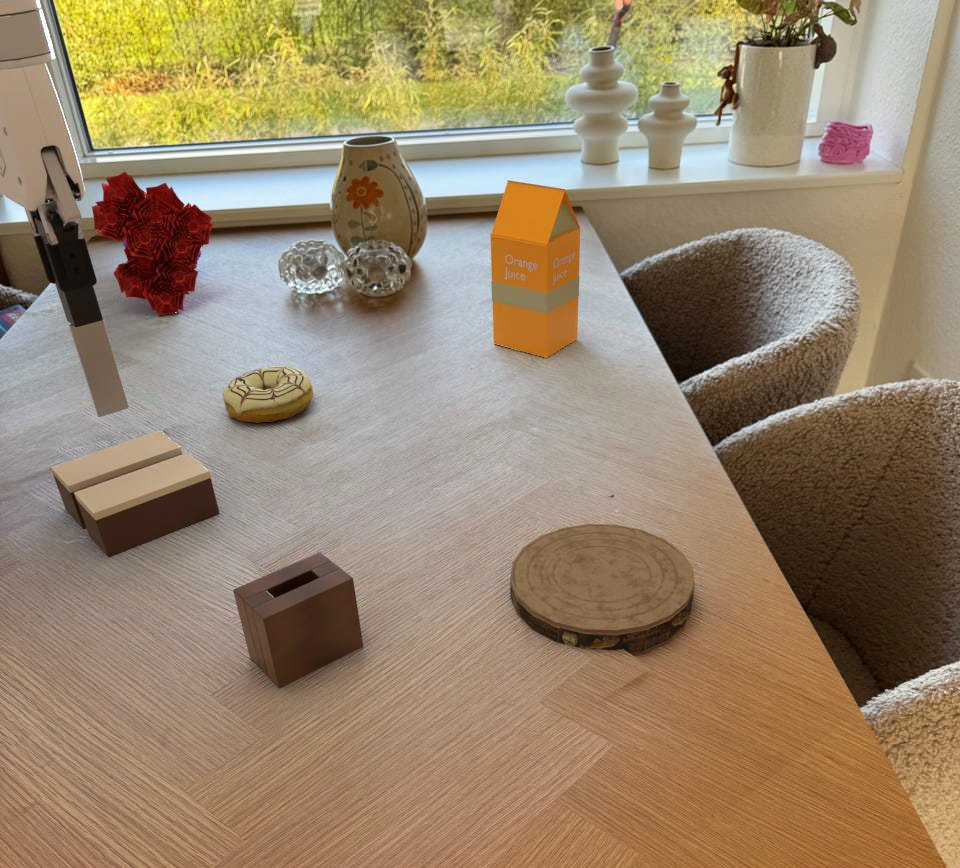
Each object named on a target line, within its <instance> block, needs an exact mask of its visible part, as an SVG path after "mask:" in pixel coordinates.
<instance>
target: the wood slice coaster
mask: <svg viewBox="0 0 960 868" xmlns="http://www.w3.org/2000/svg"><path fill="white" fill-rule="evenodd" d="M510 570H511V571H510V577H509V588H510V591H509V592H510V593H509V594H510V600H511V603H512V606H513V607H514V610H515V612H516V615H517V616H518V617H519V618H520V619H521V621H523V622H524V623H525V625H527V626H528V628H530V629H531V630H532V631H533V632H535V633H538V634H539V635H541V636H544V637H545V638H547V639H549V640H551V641H553V642H555V643H558V644H562V645H566V646H570V647H573V648H578V649H582V650H598V651H619V650H624V651H625V652H627V653H628V654H630V655H631V656H639V655H644V654H646V653H649V652H651V651H653V650H656V649H658V648H660V647H663V646H666V645H667V644H669V643H670V642H671V641H672V640H674V638H676V637H677V636H678V635H679V634H680V633H681V632H683V631H684V629H685V627H686V625H687V623H688V621H689V618H690V616H691V613H692V609H693V601H694V593H695V585H696V584H695V576H694V567H693V566H692V564H691V563H690V561H689V560H688V558H687V557H686V556H685V554H684V552H683V551H682V550H680V549H679V548H677V546H675V545H674V544H672V543H671V542H669V541H668V540H667V539H665V538H663V537H661V536H658V535H655V534H653V533H651V532H648V531H645V530H644V529H639V528H635V527H630V526H624V525H620V524H605V523H585V524H579V525H573V526H566V527H561V528H558V529H556V530H553V531H551V532H547V533H544V534H542V535H539V536H538V537H537V538H535V539H534V540H532V541H531V542H529V543H527V545H525V546H523V547H522V549H521V550H520V552H518V554H517V555H516V557H515V559H513V561H512V563H511V569H510Z"/></svg>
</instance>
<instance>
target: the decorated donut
mask: <svg viewBox="0 0 960 868" xmlns="http://www.w3.org/2000/svg"><path fill="white" fill-rule="evenodd" d="M222 391H223V392H222V398H223V403H224V406H225V409H226V411H227V413H228V414H229V417H231V418H235V419H236V420H238V421H241V422H244V423H247V422H248V423H251V422H252V423H255V424H261V423H265V422H266V423H267V422H268V423H274V422H276V421H280V420H286V419H290V418H292V417H293V416H296V415H298V414H300V413H301V412H302V411H305V409H306V408H307V407H308V406H309V405H310V403H311V400H312V398H313V396H314V389H313V384H312V381H311V379H310V378H309V376H308V375H307V373H306V372H305V371H303V370H302V369H299V368H297V367H292V366H290V365H289V366H288V365H270V366H265V367H261V368H257V369H252V370H249V371H246V372H244V373H242V374H240V375H238V376H236V377H235V378H233V379H232V380H231V381H230V382H229V383H228V384H227V385H226V386H225V387H224V388H223V390H222Z"/></svg>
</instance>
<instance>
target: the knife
mask: <svg viewBox="0 0 960 868" xmlns="http://www.w3.org/2000/svg"><path fill="white" fill-rule="evenodd" d="M54 214H57V213H54ZM50 216H51V219H53V214H50ZM34 219H35V222H36V225H37V229H38V232H39V235H40V238H41V241H42V244H43V247H44V250H45V253H46V256H47V260H48V263H49V266H50V269H51V272H52V275H53V278H54V281H55V284H54V285H55V287H56V290H57V294H58V296H59V300H60V303H61V306H62V309H63V312H64V315H65V318H66V321H67V322H68V323H69V324H68V327H69V331H70V334H71V337H72V339H73V343H74V346H75V349H76V352H77V355H78V358H79V359H78V360H79V362H80V364H81V368H82V371H83V374H84V377H85V380H86V383H87V387H88V390H89V392H90V396H91V399H92V403H93V405H94V408H95V411H96V414H97V417H98V418H102V417H106V416H108V415H111V414H115V413H118V412H121V411H123V410H127V409H129V408H130V406H129V403H128V401H127V397H126V394H125V389H124V386H123V384H122V380H121V376H120V373H119V370H118V367H117V363H116V360H115V356H114V354H113V349H112V346H111V342H110V339H109V336H108V333H107V329H106V325H105V323H104V318H103V314H102V311H101V308H100V304H99V301H98V297H97V295H96V294H97V293H96V291H95V287H94V285H93V286H89V287H85V288H81V289H77V290H73V291H70V292H63V291H62V290H60V289H59V286H58V283H57V280H56V277H55V274H54V270H53V267H52V264H51V261H50V258H49V255H48V252H47V249H46V245H45V244H49V241H48V239H47V236H46V233H45V230H44V227H43V223H42V220H41V217H35V218H34ZM52 223H53V222H52ZM39 235H38V236H39Z"/></svg>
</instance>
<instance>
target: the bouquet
mask: <svg viewBox="0 0 960 868" xmlns="http://www.w3.org/2000/svg"><path fill="white" fill-rule="evenodd" d="M105 181H106V182H107V183H103V182H102V183H101V188H102V189H101V190H102V200H100V201H99V200H98V201H96V202H95V204H96V205H92V206H91V211H92V216H93V229H94V230H98V231H97V235H98V236H101V237H104V238H109V239H111V240H114V241H116V242H120V241H121V242H122V243H123V244H122V245H123V247H124V249H123V252H124V254H125V257H126V259H127V260H126V261H125V262H123V263H119V264H118V265H117V267H116V268H115V270H114V271H113V276H114V277H115V279H116V282H117V283H118V286H119V289H120V293H124V294H125V298H126V299H130V298H136V299H141V300H146V301H147V302H148V303H149V306H150V308H151V310H152V312H153V313H154V312H155V313H156V314H157V316H158V315H161V316H163V315H172V314H171V313H175V312H177V311H178V312H179V311H183V312H184V299H185V295H190V293H189V292H192V293H193V292H194V293H195V290H196V282H197V277H198V275H199V271H198V270H196V269H197V268H198V262H199V260H200V258H201V256H202V249H201V248H202V247H204V246H206V245H209V244H210V236H211V235H210V234H211V232H212V230H213V227H214V223H211V222H212V219H213V217H212V216H211V215H209V214H207V213H206V212H204V210H203V211H202V209H201V208H199V206H197V205H196V204H193V205H192V204H191V203H190V202H187V203H186V205H185V203H184V202H183V201H182V200H181V199H180V198H179V197H178V195H177V194H176V192H175V191H174V188H173V186H170V187H169V186H168V184H167V182H164V183H161V184H159V185H156V186H149V187H145V191H144V190H143V189H142V188H141V187H140V186H139V185H138V184H137V182H136V181H135V179H134V178H133V176H132V175H129V174H128V172H126V171H123V172H121V173H120V174H118V175H114V176H110V177H107V178H105Z"/></svg>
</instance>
